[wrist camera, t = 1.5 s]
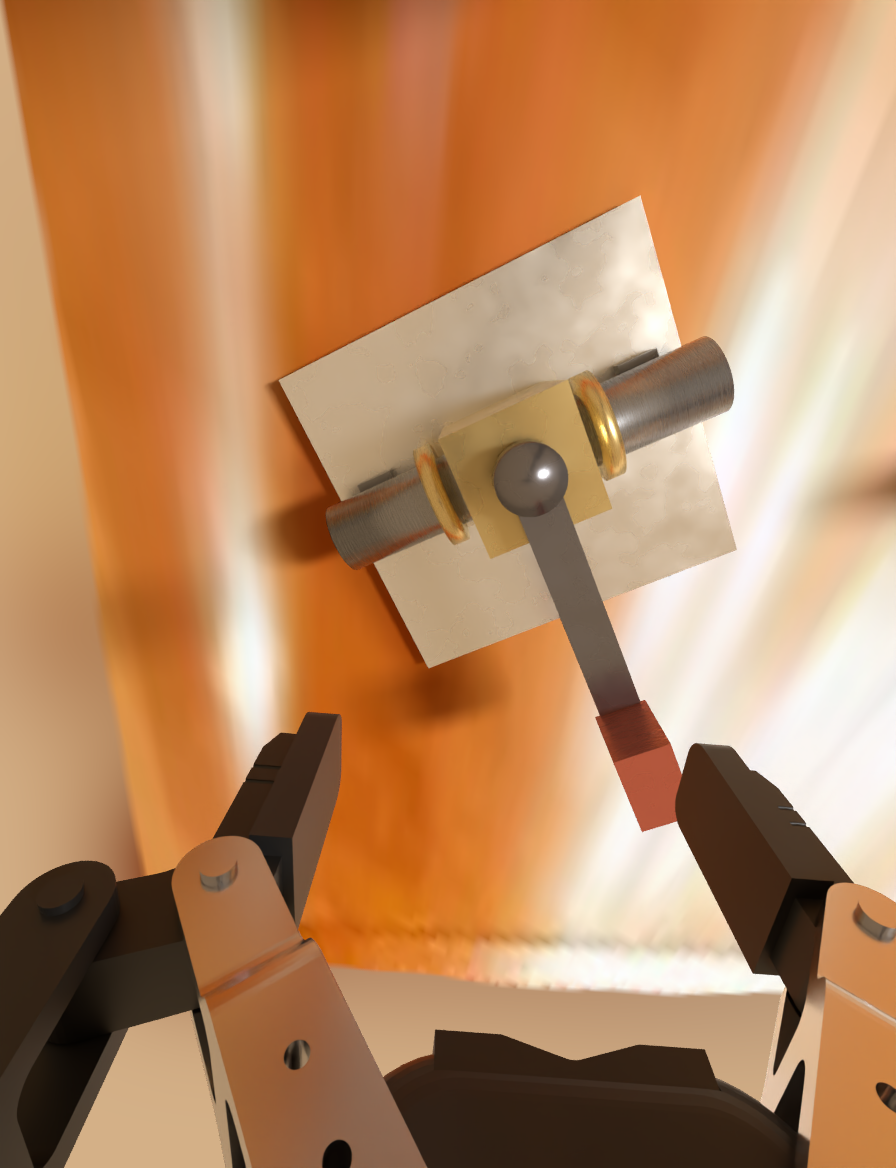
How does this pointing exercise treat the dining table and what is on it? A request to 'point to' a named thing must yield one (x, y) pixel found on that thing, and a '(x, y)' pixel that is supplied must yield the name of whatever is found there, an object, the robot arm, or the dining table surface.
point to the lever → (589, 628)
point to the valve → (522, 435)
